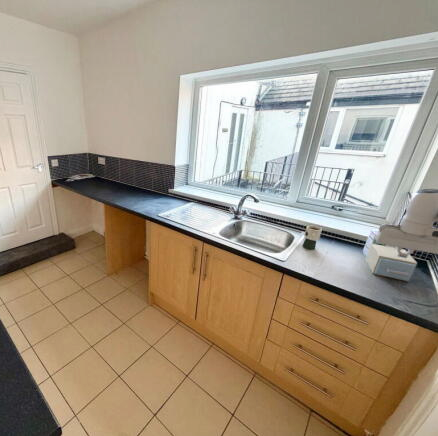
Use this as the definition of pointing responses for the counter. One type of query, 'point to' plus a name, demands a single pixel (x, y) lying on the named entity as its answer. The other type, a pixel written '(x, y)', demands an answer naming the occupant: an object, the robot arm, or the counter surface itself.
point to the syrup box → (371, 241)
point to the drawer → (395, 269)
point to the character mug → (311, 237)
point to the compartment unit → (385, 252)
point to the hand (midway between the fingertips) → (401, 256)
